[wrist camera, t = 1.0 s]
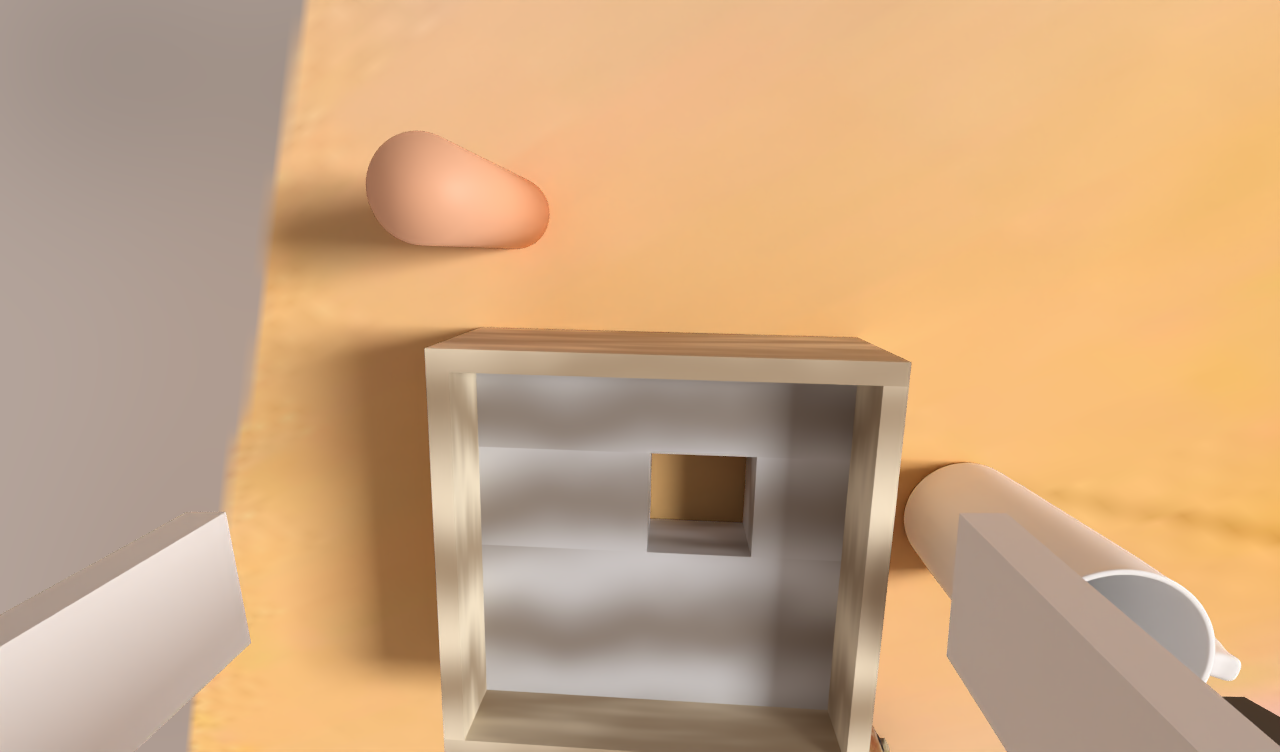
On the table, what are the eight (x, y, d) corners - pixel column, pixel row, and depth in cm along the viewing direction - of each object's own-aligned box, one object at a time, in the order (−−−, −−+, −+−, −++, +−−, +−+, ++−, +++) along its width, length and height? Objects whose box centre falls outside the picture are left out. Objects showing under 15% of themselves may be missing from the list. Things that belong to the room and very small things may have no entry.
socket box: (480, 327, 33) (424, 348, 26) (857, 337, 32) (911, 362, 25) (491, 656, 37) (444, 756, 30) (826, 676, 36) (865, 784, 28)
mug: (880, 555, 34) (987, 712, 22) (920, 443, 33) (1055, 549, 21) (1056, 599, 34) (1256, 780, 22) (1103, 489, 33) (1342, 620, 21)
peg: (479, 176, 31) (362, 130, 20) (548, 177, 31) (471, 131, 20) (482, 248, 32) (369, 244, 20) (549, 249, 32) (475, 246, 20)
